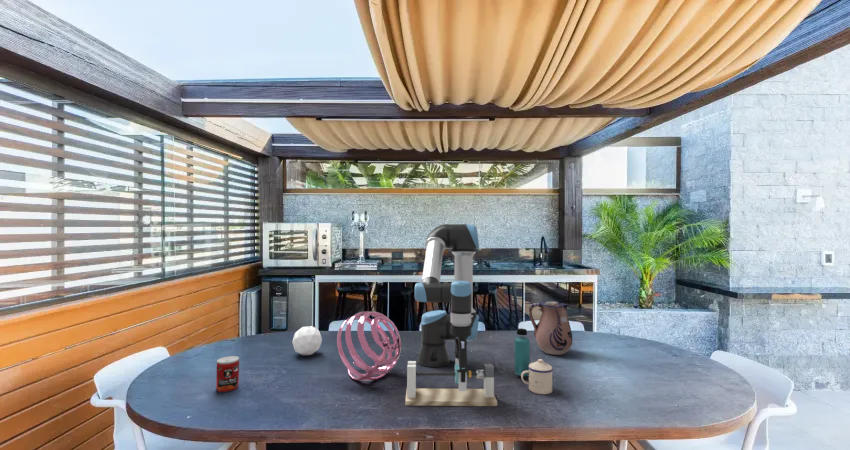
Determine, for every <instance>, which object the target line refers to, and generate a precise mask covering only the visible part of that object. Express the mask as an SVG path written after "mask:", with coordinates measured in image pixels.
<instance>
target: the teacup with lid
mask: <svg viewBox="0 0 850 450" xmlns="http://www.w3.org/2000/svg"><path fill="white" fill-rule="evenodd" d="M528 368H529V371H523V372H522V373H521V376H520V377H521V380H522V382H523V383H524V384H526V385H528V390H529V391H530V392H532V393H534V394H537V395H549V394H551V393H552V392H553V370H554V367H553V366H552V365H550V364H548V363H547V362H545V361H544V360H543V359H542V358H539V359H537V360H536V361H535V362H530V364H529V366H528ZM525 373H529V375H528V381H526V380H525V379H524V376H523V375H524V374H525Z"/></svg>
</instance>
